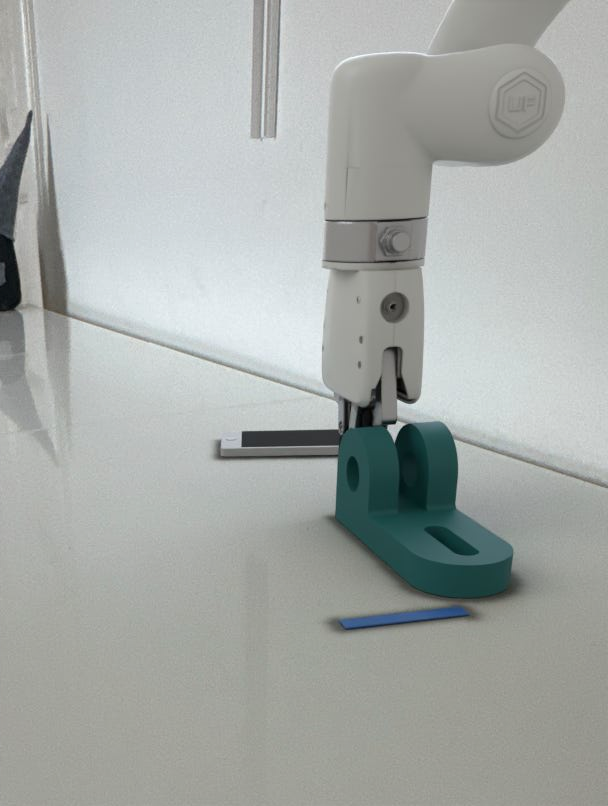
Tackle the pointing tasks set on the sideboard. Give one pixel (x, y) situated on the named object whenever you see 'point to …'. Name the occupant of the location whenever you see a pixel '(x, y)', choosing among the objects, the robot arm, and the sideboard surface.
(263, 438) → the smartphone
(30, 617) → the sideboard surface
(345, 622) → the tape line
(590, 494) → the sideboard surface
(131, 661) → the sideboard surface
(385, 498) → the bracket
